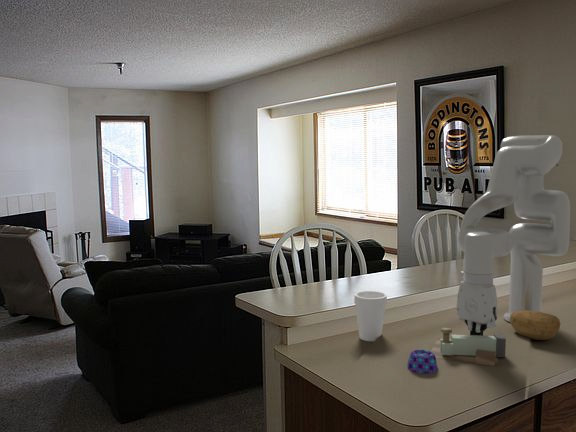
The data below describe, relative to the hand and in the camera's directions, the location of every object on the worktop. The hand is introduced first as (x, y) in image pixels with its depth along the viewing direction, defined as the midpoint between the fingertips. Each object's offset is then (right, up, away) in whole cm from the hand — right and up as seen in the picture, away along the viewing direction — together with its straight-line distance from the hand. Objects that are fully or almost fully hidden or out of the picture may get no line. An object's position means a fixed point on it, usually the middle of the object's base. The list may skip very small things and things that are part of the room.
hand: (476, 344), depth 152 cm
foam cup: (-27, -1, +14) cm, 30 cm away
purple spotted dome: (-17, -5, -12) cm, 21 cm away
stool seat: (-3, -3, 0) cm, 4 cm away
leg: (-2, -1, -3) cm, 4 cm away
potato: (+21, -1, +13) cm, 25 cm away
